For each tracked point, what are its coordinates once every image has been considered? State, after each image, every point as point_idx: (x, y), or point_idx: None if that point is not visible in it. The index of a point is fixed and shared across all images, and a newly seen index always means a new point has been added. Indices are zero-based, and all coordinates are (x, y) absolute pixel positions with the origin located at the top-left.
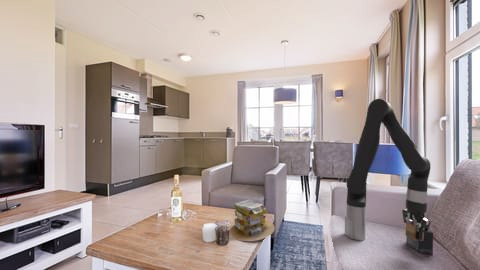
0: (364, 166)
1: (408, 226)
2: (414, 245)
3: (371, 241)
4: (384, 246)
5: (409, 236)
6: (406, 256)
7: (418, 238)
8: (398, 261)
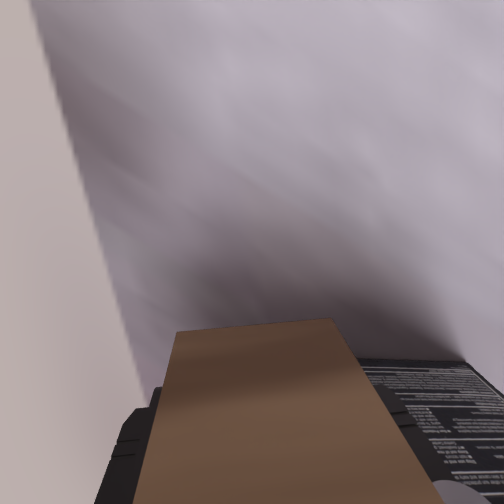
0: None
1: (331, 473)
2: (371, 378)
3: (493, 36)
4: (394, 123)
5: (253, 336)
6: (232, 225)
7: (140, 413)
8: (121, 90)
